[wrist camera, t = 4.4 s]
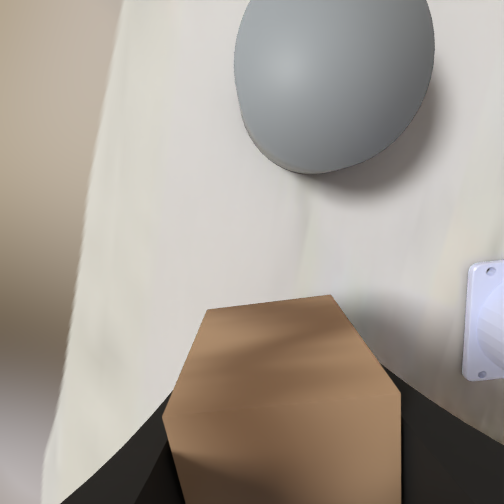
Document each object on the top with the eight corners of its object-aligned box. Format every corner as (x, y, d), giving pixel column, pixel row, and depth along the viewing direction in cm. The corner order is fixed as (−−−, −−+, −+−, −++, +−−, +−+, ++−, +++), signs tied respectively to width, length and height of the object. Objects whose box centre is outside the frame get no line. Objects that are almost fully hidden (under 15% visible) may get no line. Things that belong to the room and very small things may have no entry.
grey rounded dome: (393, -14, 12) (437, -80, 9) (394, 162, 14) (431, 155, 11) (227, 16, 12) (218, -38, 9) (250, 183, 14) (249, 182, 11)
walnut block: (330, 294, 10) (400, 392, 5) (338, 399, 11) (401, 560, 6) (207, 309, 10) (162, 416, 5) (227, 410, 11) (204, 573, 7)
